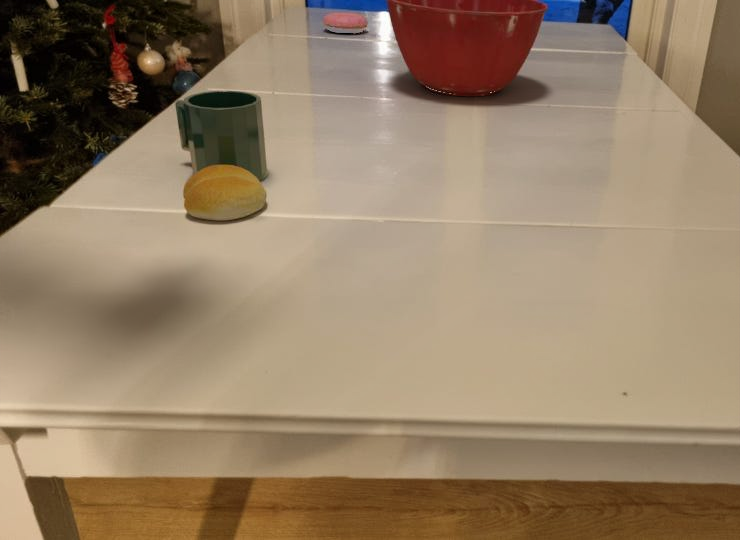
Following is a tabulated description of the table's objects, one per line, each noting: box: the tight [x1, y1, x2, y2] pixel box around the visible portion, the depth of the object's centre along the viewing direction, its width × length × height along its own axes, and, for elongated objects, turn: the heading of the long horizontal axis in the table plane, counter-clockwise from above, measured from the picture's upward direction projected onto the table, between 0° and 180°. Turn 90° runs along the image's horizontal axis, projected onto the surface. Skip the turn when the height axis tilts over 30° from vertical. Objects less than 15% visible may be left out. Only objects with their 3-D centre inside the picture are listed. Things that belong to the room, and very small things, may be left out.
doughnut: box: [322, 11, 369, 35], centre depth 175 cm, size 11×11×4 cm
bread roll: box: [182, 165, 268, 222], centre depth 75 cm, size 8×9×4 cm
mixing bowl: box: [386, 0, 549, 97], centre depth 126 cm, size 28×28×16 cm
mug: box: [175, 90, 268, 182], centre depth 83 cm, size 12×8×9 cm
